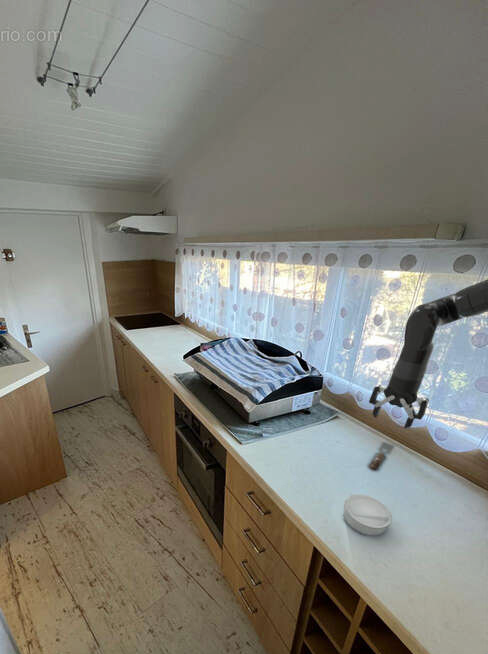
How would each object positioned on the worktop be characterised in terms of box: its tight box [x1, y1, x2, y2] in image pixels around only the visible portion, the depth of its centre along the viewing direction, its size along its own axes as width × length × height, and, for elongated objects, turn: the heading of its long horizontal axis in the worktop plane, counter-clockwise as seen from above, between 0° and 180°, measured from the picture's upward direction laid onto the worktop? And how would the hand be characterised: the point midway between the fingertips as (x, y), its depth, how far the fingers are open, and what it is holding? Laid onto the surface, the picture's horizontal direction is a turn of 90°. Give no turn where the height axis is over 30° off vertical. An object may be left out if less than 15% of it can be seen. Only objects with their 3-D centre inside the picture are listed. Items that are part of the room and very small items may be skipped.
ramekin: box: [343, 493, 393, 536], centre depth 82 cm, size 11×11×5 cm
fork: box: [368, 452, 386, 471], centre depth 106 cm, size 19×2×2 cm, turn 135°
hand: (390, 421), depth 95 cm, fingers open, 8 cm apart
